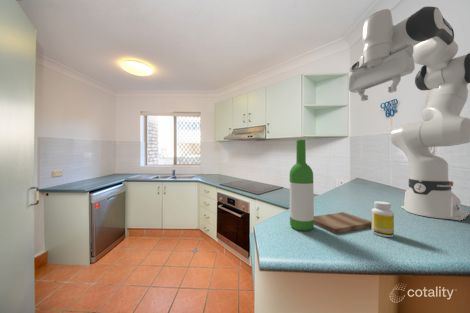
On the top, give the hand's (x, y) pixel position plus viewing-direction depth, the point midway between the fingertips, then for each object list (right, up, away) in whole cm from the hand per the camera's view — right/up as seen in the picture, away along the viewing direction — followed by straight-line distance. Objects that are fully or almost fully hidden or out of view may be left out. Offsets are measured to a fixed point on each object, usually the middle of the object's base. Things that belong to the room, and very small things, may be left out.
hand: (377, 96), depth 66 cm
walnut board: (-14, -46, 0) cm, 48 cm away
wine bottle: (-29, -46, -3) cm, 55 cm away
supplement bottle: (-6, -46, -9) cm, 48 cm away
